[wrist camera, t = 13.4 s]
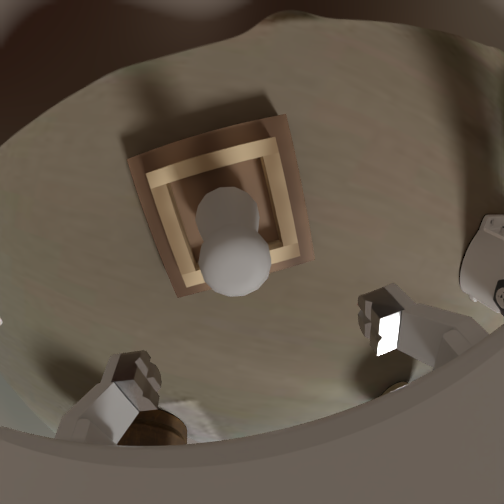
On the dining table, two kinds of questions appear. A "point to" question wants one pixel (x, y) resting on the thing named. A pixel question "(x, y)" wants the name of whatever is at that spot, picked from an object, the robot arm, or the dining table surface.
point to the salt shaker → (231, 242)
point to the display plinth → (223, 175)
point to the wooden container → (154, 430)
